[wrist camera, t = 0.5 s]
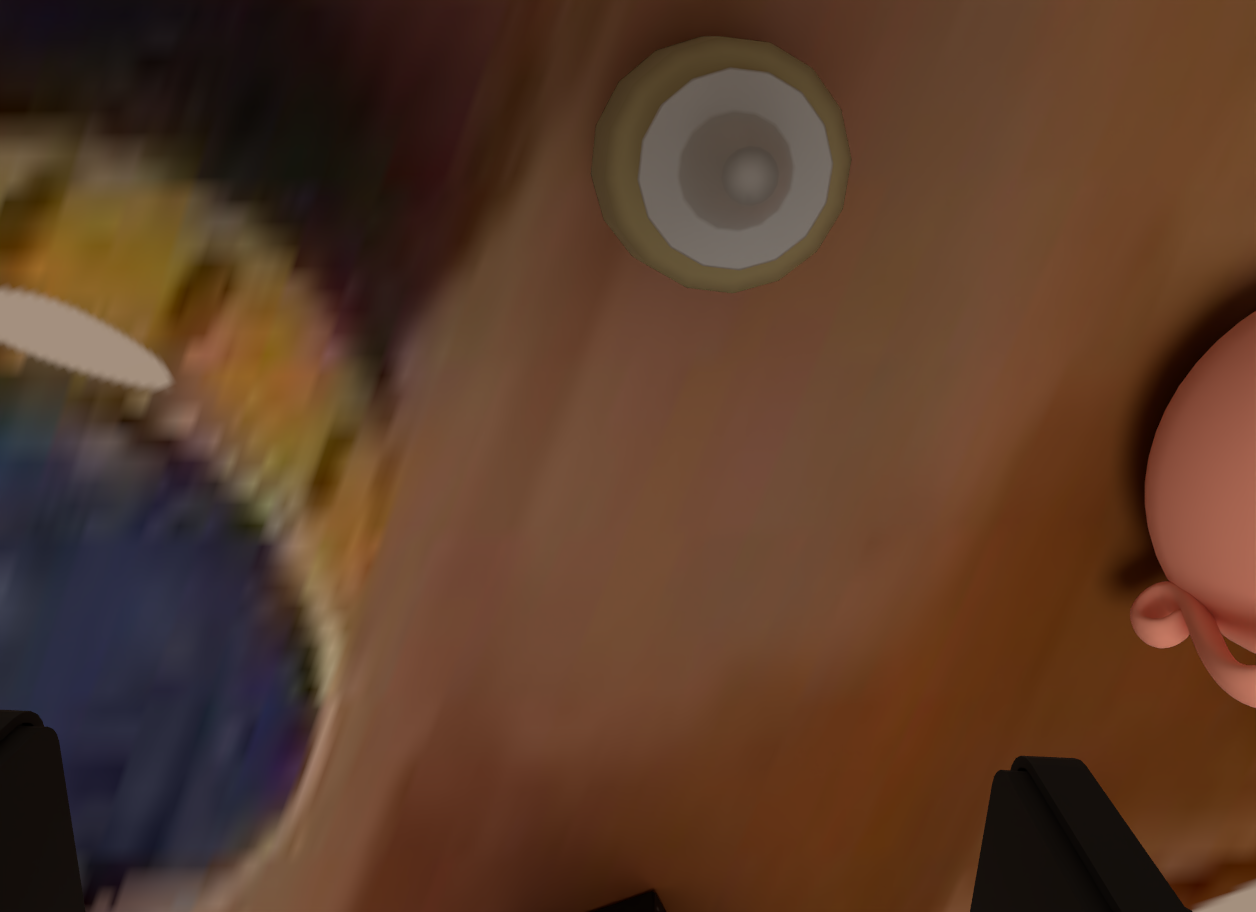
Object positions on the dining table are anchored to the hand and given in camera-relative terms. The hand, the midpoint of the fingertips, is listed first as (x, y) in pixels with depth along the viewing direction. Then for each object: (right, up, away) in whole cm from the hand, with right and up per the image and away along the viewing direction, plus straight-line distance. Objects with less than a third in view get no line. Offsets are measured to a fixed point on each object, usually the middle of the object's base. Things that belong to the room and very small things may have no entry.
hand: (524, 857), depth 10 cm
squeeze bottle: (+4, +15, +28) cm, 32 cm away
